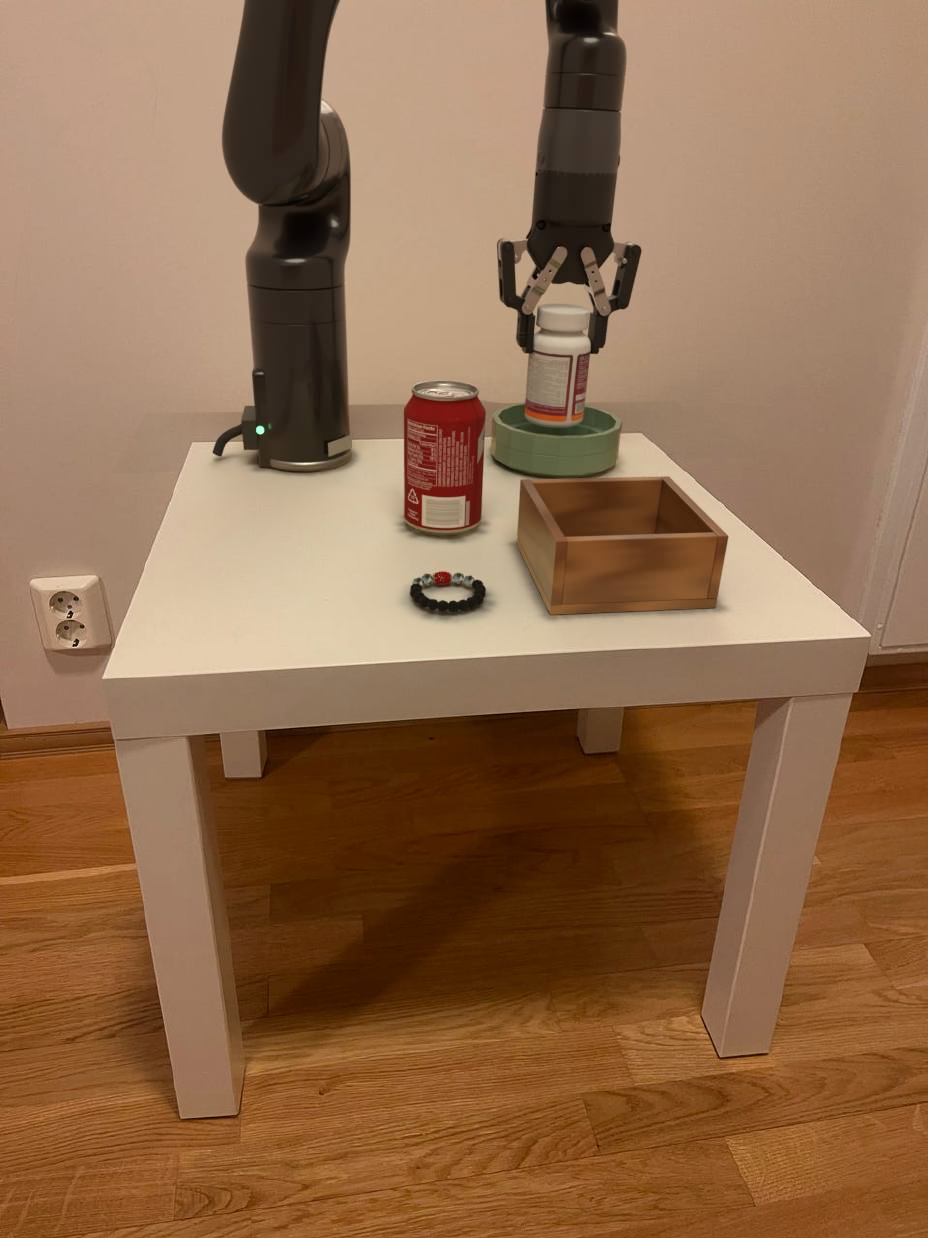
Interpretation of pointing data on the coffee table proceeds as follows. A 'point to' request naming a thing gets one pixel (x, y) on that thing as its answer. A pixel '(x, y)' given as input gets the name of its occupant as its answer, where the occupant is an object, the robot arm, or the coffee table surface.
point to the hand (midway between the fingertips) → (559, 351)
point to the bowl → (556, 443)
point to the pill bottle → (558, 367)
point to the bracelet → (447, 578)
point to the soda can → (443, 457)
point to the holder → (618, 545)
